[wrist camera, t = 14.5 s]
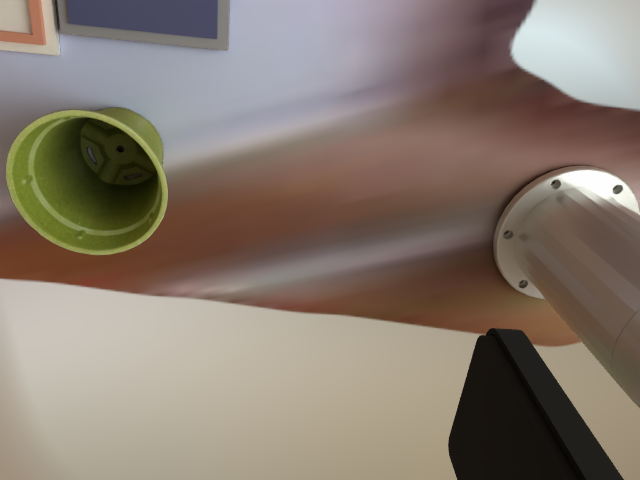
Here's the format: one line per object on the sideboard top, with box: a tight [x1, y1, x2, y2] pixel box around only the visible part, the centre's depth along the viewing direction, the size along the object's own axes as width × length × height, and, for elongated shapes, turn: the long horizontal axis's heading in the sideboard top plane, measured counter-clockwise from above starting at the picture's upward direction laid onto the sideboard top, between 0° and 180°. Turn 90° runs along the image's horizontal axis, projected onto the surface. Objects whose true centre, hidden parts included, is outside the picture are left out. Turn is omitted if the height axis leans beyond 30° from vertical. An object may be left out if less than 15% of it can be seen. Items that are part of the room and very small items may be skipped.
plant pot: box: [6, 108, 168, 255], centre depth 36 cm, size 9×9×9 cm
